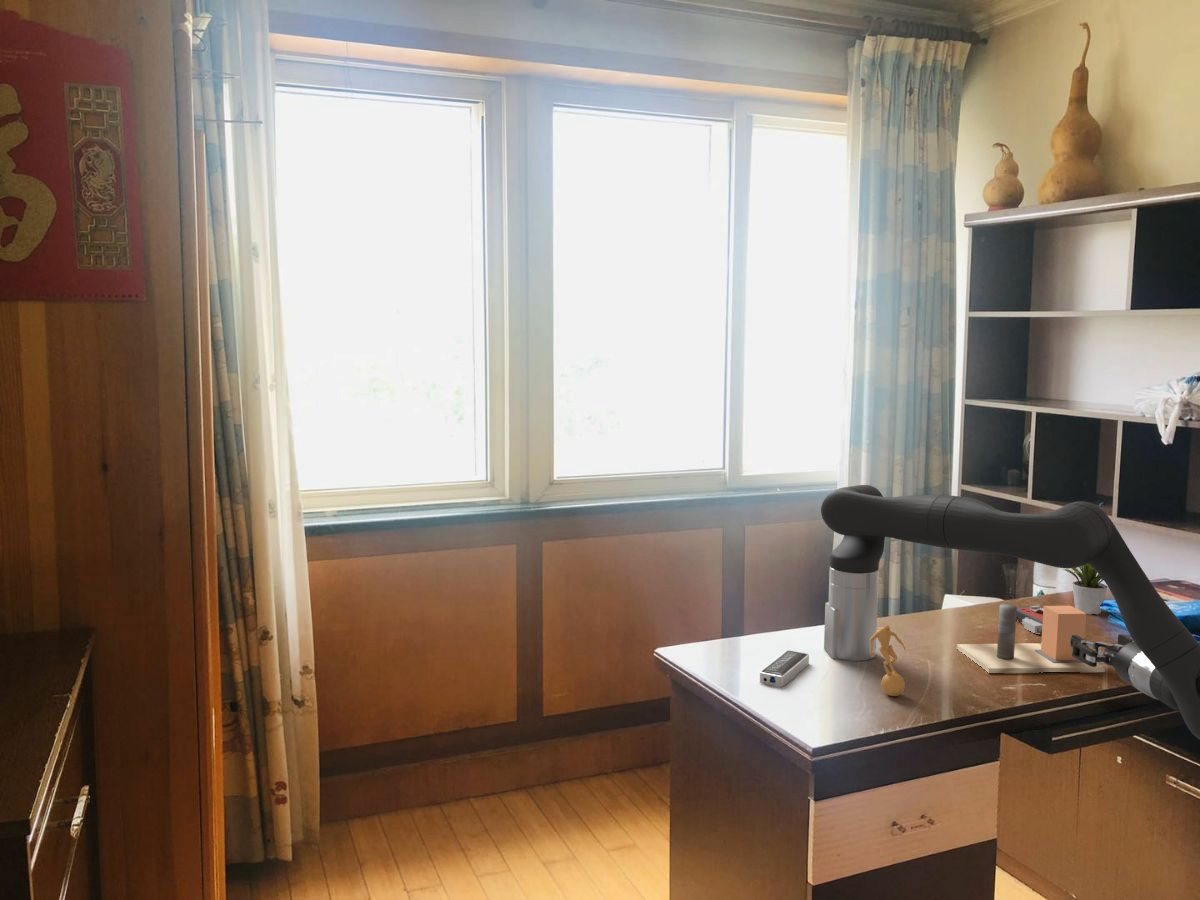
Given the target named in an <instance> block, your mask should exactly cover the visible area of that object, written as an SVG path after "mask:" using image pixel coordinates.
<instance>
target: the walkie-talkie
mask: <svg viewBox="0 0 1200 900" xmlns="http://www.w3.org/2000/svg"><path fill="white" fill-rule="evenodd" d="M1016 607H1017V612H1016V620H1018V621H1020V622H1022V625H1023V629H1024V628H1025V629H1027V630H1029V631H1031V632H1033V633H1035V634H1036V633H1040V634H1039V635H1042V625H1043V608H1044V607H1041V606H1040V605H1033V606H1032V605H1031V606H1016ZM1020 622H1019V623H1020ZM1025 629H1024V630H1025ZM1027 630H1026V631H1027ZM1029 631H1028V632H1029ZM1031 632H1030V633H1031ZM1033 633H1032V634H1033ZM1035 634H1034V635H1035Z"/></svg>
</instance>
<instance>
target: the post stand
mask: <svg viewBox="0 0 1200 900" xmlns="http://www.w3.org/2000/svg"><path fill="white" fill-rule="evenodd" d="M1017 607H1018V606H1016V605H1014V604H1008V603H1007V604H1006V603H1003V604H1002V603H1001V604H1000V605H999V610H998V612H999V613H998V630H997V632H998V633H997V643H962V644H961V643H959V644H958V643H957V644H956V650H957V649H958V650H957V651H959V652H960V653H961V652H962V653H961V654H962V655H964V654H965V655H966V656H967V657H966V656H965V655H964V656H965V657H966V658H968V657H969V658H970V659H971V660H970V659H969V658H968V659H969V660H970V661H972V660H973V661H974V662H975V663H977V664H978V665H979V666H981V667H982V668H983V669H985V670H986V671H987V672H988V673H1004V674H1044V673H1043V672H1080V673H1105V672H1106V667H1105V666H1104V664H1102V663H1098V662H1097V666H1096V667H1091V666H1089V665H1087V664H1085V663H1084V662H1082V661H1080V660H1054V659H1053V658H1051V657H1050V656H1048V655H1046V654H1045V653H1043V652H1042V651H1041V642H1040V643H1039V642H1038V643H1037V642H1036V643H1035V642H1034V643H1030V642H1027V643H1016V628H1017V626H1016V625H1017V621H1016V612H1017ZM973 661H972V662H973ZM974 662H973V663H974ZM977 664H976V665H977ZM978 665H977V666H978ZM979 666H978V667H979ZM981 667H980V668H981ZM982 668H981V669H982ZM983 669H982V670H983ZM986 671H985V672H986ZM987 672H986V673H987ZM1039 672H1041V673H1039ZM988 673H987V674H988Z"/></svg>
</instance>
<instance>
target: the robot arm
mask: <svg viewBox="0 0 1200 900" xmlns="http://www.w3.org/2000/svg"><path fill="white" fill-rule="evenodd" d="M820 514H821V517H822V518H821V519H822V520H823V522H824V523H825V525H826V526H827V527H828V528H829V529H830V530H831V531H833V532H834V533H836V534H838V535H841V536H843V538H842V540H841V542H839V544H838V546H836V547H835V548H834V549H833V550H832V551H831V553H830V556H829V575H828V577H829V578H828V579H829V581H828V601H826V602H825V603H824V605H825V607H824V631H823V632H824V633H823V634H824V635H823V636H824V638H823V649H824V650H825V652H826V653H827V654H828V655H829V656H830V657H831V659H841V660H845V661H856V662H857V661H859V662H860V661H868V660H872V659H873V658H875V657H876V652H877V651H876V649H877V638H876V639H874V640H873V644H872V645H873V651H872V652H873V653H874V654H875V655H874V654H873V655H874V657H873V658H872V656H870V642H869V640H870V638H871V637H872V636H873V635H874V634H875V633H876V629H877V628H878V627H877V625H878V622H877V620H878V598H879V577H880V576H879V574H880V572H879V571H880V560H881V559H882V557H883V554H884V552H885V551H884V550H885V541H886V538H890V539H896V540H901V541H904V542H905V541H906V542H910V543H913V544H914V543H915V544H920V545H925V546H931V547H938V548H942V549H949V550H950V549H951V550H957V551H958V550H959V551H967V552H968V551H969V552H977V553H982V554H983V553H985V554H992V555H993V554H994V555H1003V556H1008V557H1014V558H1018V559H1022V560H1026V561H1030V562H1034V563H1038V564H1042V565H1045V566H1050V567H1053V568H1059V569H1068V570H1070V569H1071V568H1077V569H1078V568H1079V567H1081V566H1083V565H1085V564H1087V563H1088V564H1090V565H1091V566H1092V567H1093V568H1094V569H1095V570H1096V571H1097V575H1098V574H1099V575H1100V576H1101V577H1102V579H1103V581H1104V583H1105V585H1106V586H1107V588H1108V589H1109V591H1110V593H1111V595H1112V596H1113V599H1114V601H1115V603H1116V606H1117V608H1118V610H1119V613H1120V616H1121V618H1122V621H1123V623H1124V625H1125V627H1126V630H1127V631H1128V633H1129V635H1130V637H1129V636H1127V635H1126V634H1118V636H1117V643H1114V644H1113V643H1108V642H1105V641H1095V642H1092V641H1089V640H1086V638H1085V639H1083V638H1081V637H1080V636H1078V635H1072V638H1071V641H1070V646H1071V647H1073V651H1072V656H1073V657H1075V658H1076V659H1078V660H1080V661H1082V662H1084V663H1085V664H1087V665H1089V666H1091V667H1096V666H1097V662H1098V663H1099V664H1101V665H1107V666H1109V667H1111V668H1113V669H1114V670H1115V672H1116V674H1117V676H1118V677H1119V678H1120V679H1121V680H1122V681H1123V682H1125V683H1126V684H1129V685H1130V686H1131V687H1133V688H1134V689H1136V690H1137V691H1139V692H1142V693H1143V694H1145V695H1146V696H1148V697H1149V698H1152V699H1155V700H1158V701H1159V702H1161V703H1162V704H1163V705H1166V706H1167V707H1169V708H1171V709H1173V710H1174V711H1177V712H1179V713H1180V715H1181V716H1182V719H1183V721H1184V723H1185V725H1186V727H1187V729H1188V730H1189V731H1190V732H1191V734H1192V735H1194V737H1195V738H1197V739H1198V740H1199V741H1200V643H1199V641H1198V640H1197V639H1196V638H1195V636H1194V635H1193V634H1192V633H1191V632H1190V631H1189V629H1188V628H1187V627H1186V626H1185V625H1184V624H1183V622H1182V621H1181V620H1180V619H1179V617H1178V616H1176V614H1175V613H1174V612H1173V611H1172V609H1171V608H1170V607H1169V605H1168V604H1167V603H1166V601H1164V598H1162V596H1161V594H1160V593H1159V592H1158V591H1157V589H1156V588H1155V587H1154V585H1153V584H1152V581H1150V579H1149V578H1148V576H1147V575H1146V573H1145V572H1144V570H1143V568H1142V567H1141V565H1140V564H1139V562H1138V561H1137V558H1136V557H1135V556H1134V554H1133V553H1132V551H1131V549H1130V548H1129V547H1128V544H1127V543H1126V542H1125V540H1124V538H1123V537H1122V535H1121V534H1120V532H1119V530H1118V529H1117V527H1116V525H1115V523H1114V522H1113V521H1112V520H1111V518H1110V517H1109V515H1108V513H1106V512H1105V511H1104V510H1103V509H1102V508H1101V507H1099V506H1098V505H1096V504H1095V503H1091V502H1090V501H1089V502H1088V501H1083V500H1082V501H1079V500H1078V501H1074V502H1070V503H1068V504H1064V506H1061V507H1060V508H1057V509H1056V510H1053V511H1051V512H1047V513H1021V512H1020V513H1018V512H1007V511H1003V510H1000V509H997V508H995V507H994V506H992V505H990V504H987V503H986V502H983V501H981V500H979V499H976V498H973V497H966V496H961V495H960V496H959V495H950V494H949V495H948V494H915V495H903V496H901V495H900V496H883V494H882V493H881V492H880V490H879V489H878V488H876V487H875V486H872V485H869V484H857V485H852V486H851V485H850V486H846V487H845V486H844V487H840V488H837V489H835V490H833V491H831V492H829V494H828V495H826V496H825V497H824V500H822V503H821V507H820ZM1102 579H1101V580H1102ZM1092 648H1093V649H1092ZM1102 648H1104V651H1103V654H1102Z"/></svg>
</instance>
